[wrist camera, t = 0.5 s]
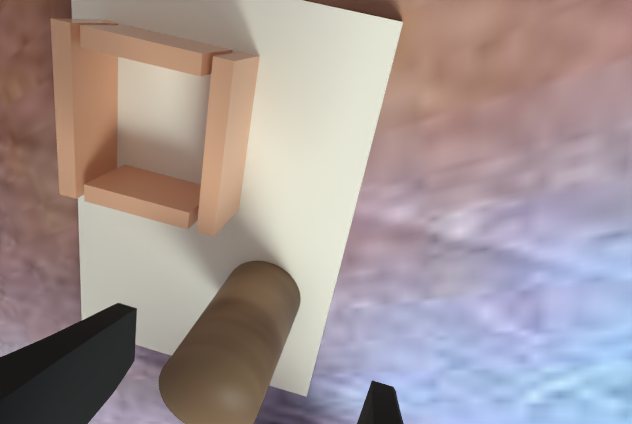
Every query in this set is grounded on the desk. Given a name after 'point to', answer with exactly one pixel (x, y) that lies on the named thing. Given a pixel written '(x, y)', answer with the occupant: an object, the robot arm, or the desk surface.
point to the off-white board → (260, 166)
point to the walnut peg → (232, 348)
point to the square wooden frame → (102, 122)
